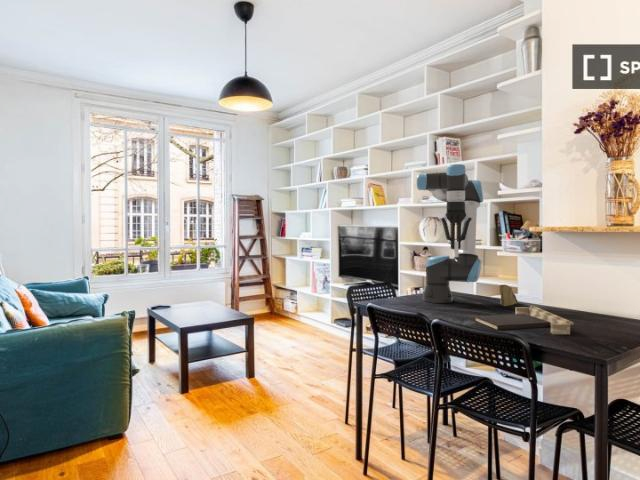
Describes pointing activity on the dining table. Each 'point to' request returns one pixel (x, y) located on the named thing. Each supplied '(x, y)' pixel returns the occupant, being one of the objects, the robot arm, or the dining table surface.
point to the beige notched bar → (547, 319)
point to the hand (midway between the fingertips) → (455, 256)
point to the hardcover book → (512, 321)
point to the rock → (507, 296)
